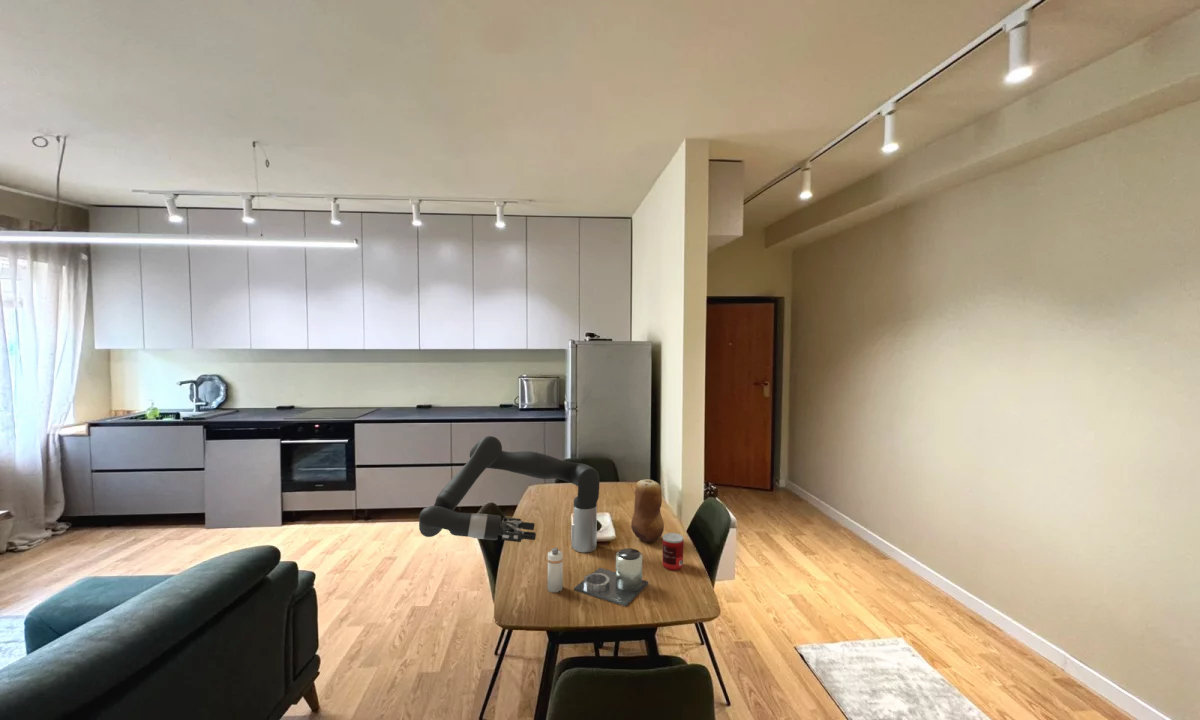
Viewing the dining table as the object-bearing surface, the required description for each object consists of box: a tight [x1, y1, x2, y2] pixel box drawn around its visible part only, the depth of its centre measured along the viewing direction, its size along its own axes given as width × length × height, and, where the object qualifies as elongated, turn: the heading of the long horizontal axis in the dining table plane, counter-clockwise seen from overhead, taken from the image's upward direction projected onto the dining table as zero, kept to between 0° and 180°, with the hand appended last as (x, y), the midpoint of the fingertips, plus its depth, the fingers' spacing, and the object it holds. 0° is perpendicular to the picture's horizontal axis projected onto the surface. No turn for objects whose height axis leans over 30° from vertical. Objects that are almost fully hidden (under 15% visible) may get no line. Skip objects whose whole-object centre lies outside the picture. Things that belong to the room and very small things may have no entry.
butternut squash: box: [630, 478, 665, 544], centre depth 205 cm, size 14×13×25 cm
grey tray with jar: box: [573, 548, 650, 608], centre depth 166 cm, size 20×17×12 cm
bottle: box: [546, 547, 564, 593], centre depth 165 cm, size 5×5×14 cm
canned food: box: [662, 532, 685, 572], centre depth 182 cm, size 8×8×11 cm
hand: (534, 531), depth 160 cm, fingers open, 8 cm apart
